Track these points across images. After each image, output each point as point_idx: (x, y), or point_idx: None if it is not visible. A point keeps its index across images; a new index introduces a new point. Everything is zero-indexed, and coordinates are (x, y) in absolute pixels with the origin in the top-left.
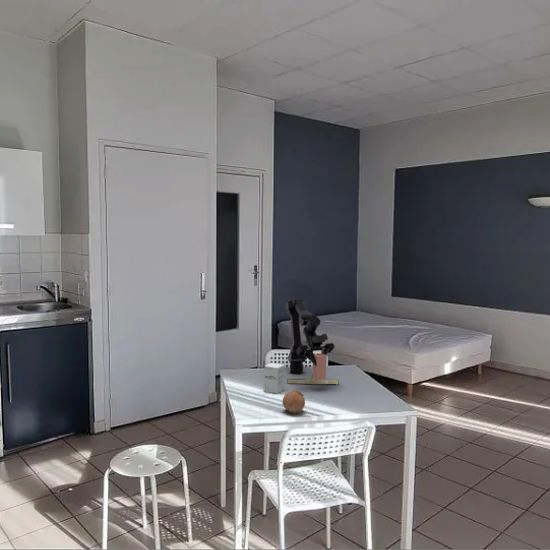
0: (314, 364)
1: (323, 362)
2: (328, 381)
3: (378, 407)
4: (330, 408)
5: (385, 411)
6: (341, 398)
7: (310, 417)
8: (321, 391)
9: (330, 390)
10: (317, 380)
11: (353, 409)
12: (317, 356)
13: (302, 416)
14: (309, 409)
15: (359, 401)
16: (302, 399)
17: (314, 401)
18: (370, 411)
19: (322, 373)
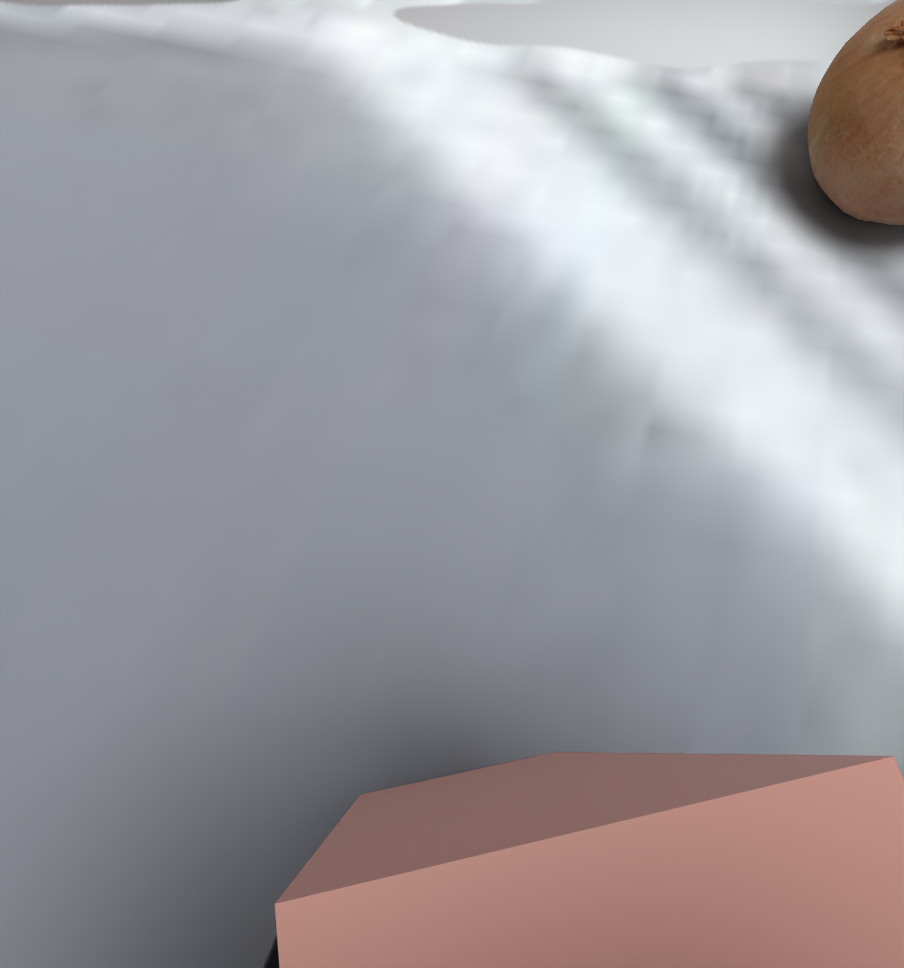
0: None
1: (454, 809)
2: None
3: (43, 119)
4: (521, 190)
5: (48, 35)
6: (285, 420)
7: (739, 70)
8: (434, 740)
9: (283, 768)
10: (531, 758)
11: (316, 129)
12: (895, 781)
13: (798, 98)
14: (719, 208)
15: (129, 294)
16: (887, 8)
17: (627, 387)
18: (186, 62)
19: (441, 786)
